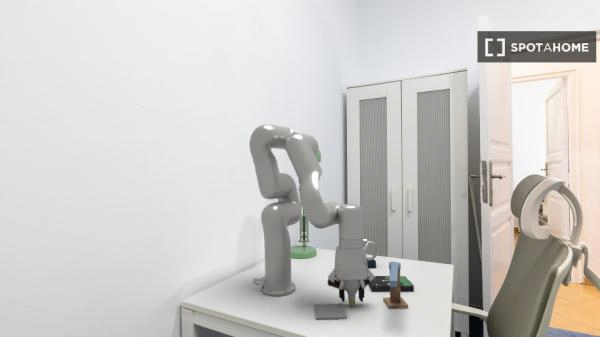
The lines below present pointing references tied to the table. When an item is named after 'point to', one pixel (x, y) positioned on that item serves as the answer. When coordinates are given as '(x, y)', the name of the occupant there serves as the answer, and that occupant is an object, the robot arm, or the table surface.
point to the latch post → (395, 297)
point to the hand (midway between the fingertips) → (351, 299)
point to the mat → (329, 311)
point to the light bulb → (351, 289)
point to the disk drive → (384, 284)
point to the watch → (371, 261)
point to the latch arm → (394, 273)
